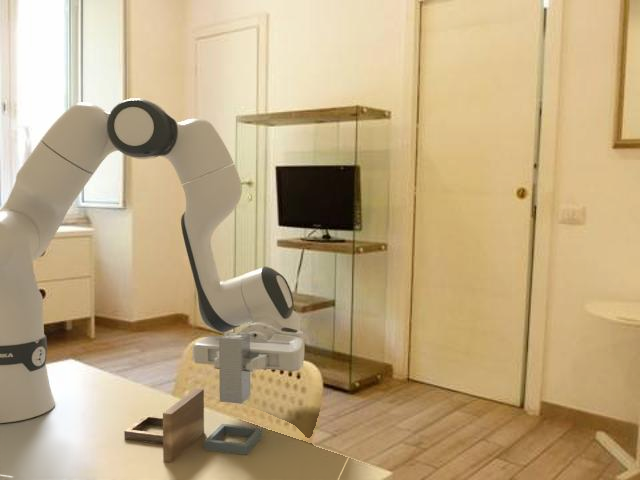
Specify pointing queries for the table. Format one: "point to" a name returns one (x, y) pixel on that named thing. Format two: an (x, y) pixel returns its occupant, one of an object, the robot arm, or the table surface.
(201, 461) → the table surface
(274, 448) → the table surface
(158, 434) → the key socket
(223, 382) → the block
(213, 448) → the keeper socket
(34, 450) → the table surface
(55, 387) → the table surface
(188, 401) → the board
